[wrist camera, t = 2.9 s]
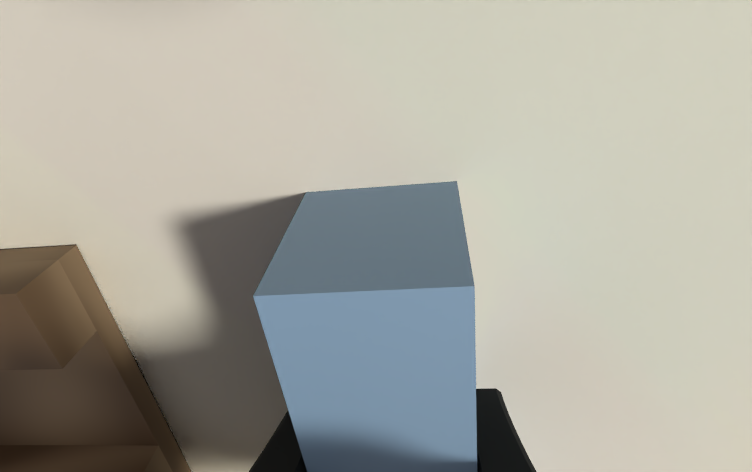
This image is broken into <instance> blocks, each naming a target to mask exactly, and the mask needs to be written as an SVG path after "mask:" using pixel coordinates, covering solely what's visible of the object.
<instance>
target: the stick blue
mask: <svg viewBox="0 0 752 472" xmlns="http://www.w3.org/2000/svg"><path fill="white" fill-rule="evenodd" d="M253 298H254V301H255V304H256V307H257V310H258V314H259V317H260V320H261V323H262V327H263V330H264V333H265V336H266V340H267V343H268V346H269V349H270V353H271V356H272V359H273V362H274V366H275V369H276V372H277V375H278V379H279V382H280V385H281V388H282V392H283V395H284V398H285V401H286V405H287V408H288V411H289V414H290V417H291V421H292V424H293V427H294V430H295V434H296V437H297V440H298V443H299V447H300V450H301V453H302V456H303V460H304V463H305V466H306V469H307V472H477V420H476V357H475V293H474V281H473V275H472V269H471V263H470V257H469V251H468V245H467V239H466V233H465V227H464V221H463V215H462V209H461V203H460V197H459V191H458V186H457V181H454V182H441V183H427V184H413V185H400V186H386V187H372V188H359V189H345V190H331V191H318V192H306V193H305V195H304V197H303V199H302V201H301V203H300V205H299V207H298V209H297V211H296V213H295V215H294V217H293V219H292V221H291V223H290V225H289V227H288V229H287V231H286V233H285V235H284V237H283V238H282V240H281V242H280V244H279V246H278V248H277V250H276V252H275V254H274V256H273V258H272V260H271V262H270V264H269V266H268V268H267V270H266V272H265V274H264V276H263V278H262V280H261V282H260V284H259V285H258V287H257V289H256V291H255V293H254V295H253Z"/></svg>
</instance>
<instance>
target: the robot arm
mask: <svg viewBox="0 0 752 472" xmlns="http://www.w3.org/2000/svg"><path fill="white" fill-rule="evenodd" d="M476 420H477V472H536V470H535V468H534V466H533V465H532V463H531V461H530V459H529V457H528V455H527V453H526V451H525V449H524V447H523V445H522V443H521V440H520V438H519V436H518V434H517V432H516V430H515V428H514V425H513V423H512V421H511V418H510V416H509V414H508V411H507V408H506V406H505V403H504V400H503V397H502V394H501V392H500V391H498V390H497V389H476ZM249 472H307V469H306V466H305V463H304V460H303V456H302V453H301V450H300V447H299V443H298V440H297V437H296V434H295V430H294V427H293V424H292V421H291V417H290V414H289V411H287V413H286V414H285V416H284V418H283V419H282V421H281V423H280V424H279V426H278V428H277V429H276V431H275V432H274V434H273V436H272V437H271V439H270V440H269V442H268V443H267V445H266V447H265V448H264V450H263V451H262V453H261V454H260V456H259V457H258V459H257V460H256V462H255V463H254V465H253V466H252V468H251V469H250V470H249Z"/></svg>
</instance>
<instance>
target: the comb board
mask: <svg viewBox="0 0 752 472" xmlns="http://www.w3.org/2000/svg"><path fill="white" fill-rule="evenodd" d="M0 472H191V470H190V468H189V466H188V464H187V462H186V460H185V458H184V456H183V454H182V452H181V450H180V449H179V447H178V445H177V443H176V441H175V439H174V437H173V435H172V433H171V431H170V429H169V427H168V425H167V423H166V421H165V419H164V417H163V415H162V413H161V411H160V409H159V407H158V405H157V403H156V401H155V399H154V397H153V395H152V393H151V391H150V389H149V387H148V385H147V383H146V381H145V380H144V378H143V376H142V374H141V372H140V370H139V368H138V366H137V364H136V362H135V360H134V358H133V356H132V354H131V352H130V350H129V348H128V346H127V344H126V342H125V340H124V338H123V336H122V334H121V332H120V330H119V328H118V326H117V324H116V322H115V320H114V318H113V316H112V314H111V312H110V311H109V309H108V307H107V305H106V303H105V301H104V299H103V297H102V295H101V293H100V291H99V289H98V287H97V285H96V283H95V281H94V279H93V277H92V275H91V273H90V271H89V269H88V267H87V265H86V263H85V261H84V259H83V257H82V255H81V253H80V251H79V249H78V247H77V245H70V246H54V247H38V248H21V249H5V250H0Z"/></svg>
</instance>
